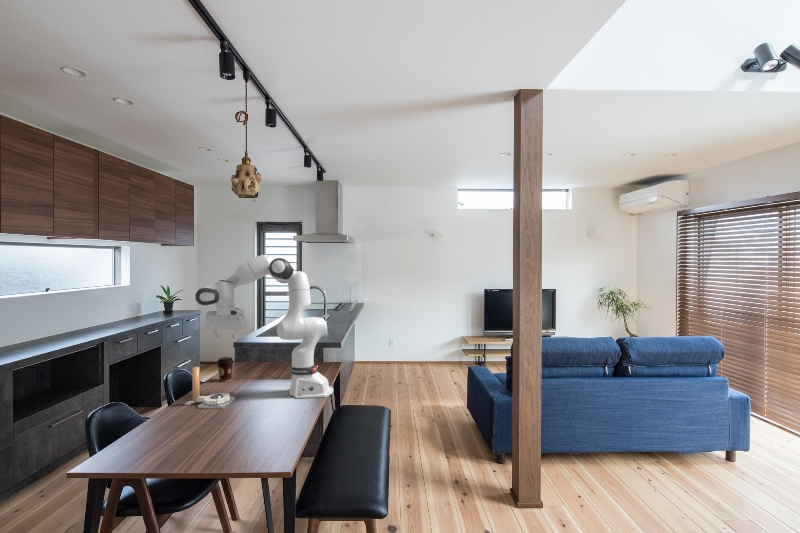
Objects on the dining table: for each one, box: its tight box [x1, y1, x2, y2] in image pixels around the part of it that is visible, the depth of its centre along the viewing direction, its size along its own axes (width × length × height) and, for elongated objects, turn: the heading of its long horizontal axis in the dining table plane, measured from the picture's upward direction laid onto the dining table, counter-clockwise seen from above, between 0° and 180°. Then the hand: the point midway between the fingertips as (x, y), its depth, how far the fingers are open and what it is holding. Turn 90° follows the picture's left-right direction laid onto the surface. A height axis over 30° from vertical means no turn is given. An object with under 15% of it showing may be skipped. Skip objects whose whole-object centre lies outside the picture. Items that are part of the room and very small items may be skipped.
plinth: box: [197, 393, 236, 409], centre depth 187 cm, size 12×12×4 cm
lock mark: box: [183, 400, 195, 406], centre depth 187 cm, size 3×4×1 cm
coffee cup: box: [216, 356, 234, 383], centre depth 224 cm, size 9×8×13 cm
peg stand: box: [191, 366, 231, 405], centre depth 187 cm, size 17×11×16 cm, turn 90°
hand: (225, 337), depth 202 cm, fingers open, 8 cm apart
